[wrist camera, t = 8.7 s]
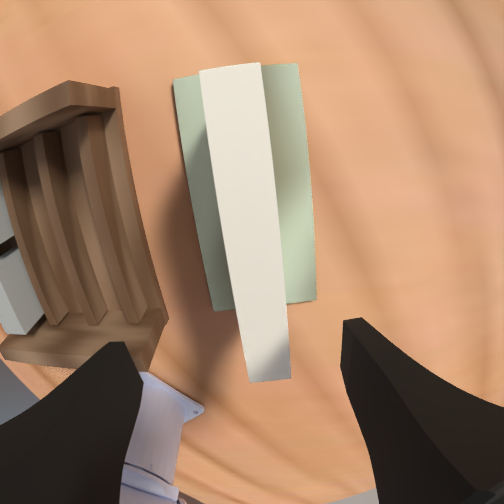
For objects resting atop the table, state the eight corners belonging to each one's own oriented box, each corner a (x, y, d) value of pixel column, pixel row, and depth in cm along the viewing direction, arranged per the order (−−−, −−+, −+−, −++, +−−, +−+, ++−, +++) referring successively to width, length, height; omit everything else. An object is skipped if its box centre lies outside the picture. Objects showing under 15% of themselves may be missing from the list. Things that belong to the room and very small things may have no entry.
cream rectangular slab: (249, 290, 20) (249, 382, 12) (222, 97, 15) (198, 70, 7) (276, 287, 19) (291, 378, 12) (254, 93, 15) (260, 61, 7)
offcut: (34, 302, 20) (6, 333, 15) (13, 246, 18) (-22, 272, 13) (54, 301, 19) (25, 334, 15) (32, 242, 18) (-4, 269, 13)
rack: (38, 321, 21) (6, 361, 16) (-16, 148, 15) (-66, 162, 10) (315, 302, 20) (334, 359, 15) (295, 56, 14) (317, 25, 9)
